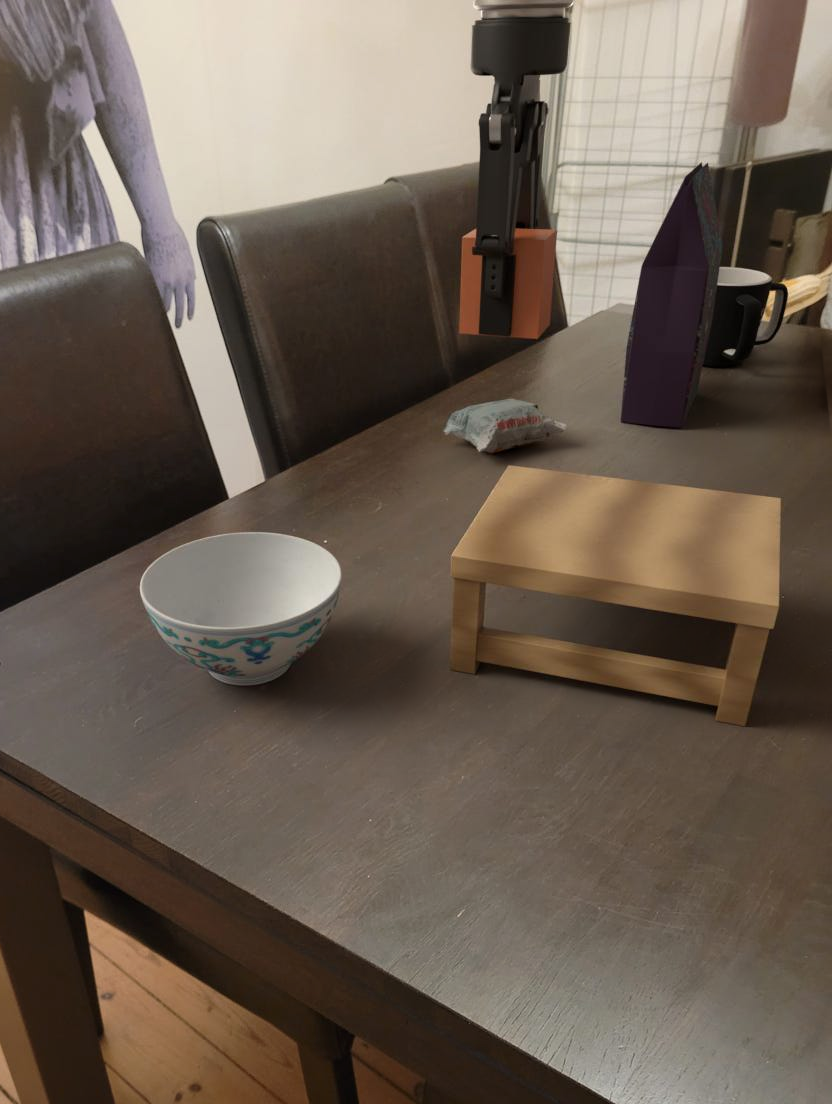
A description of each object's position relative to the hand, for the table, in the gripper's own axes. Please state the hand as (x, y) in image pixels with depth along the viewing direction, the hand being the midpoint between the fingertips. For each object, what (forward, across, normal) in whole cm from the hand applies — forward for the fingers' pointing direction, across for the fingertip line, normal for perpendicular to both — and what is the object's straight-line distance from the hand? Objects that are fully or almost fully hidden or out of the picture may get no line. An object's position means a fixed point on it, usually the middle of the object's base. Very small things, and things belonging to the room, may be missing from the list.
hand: (502, 325), depth 85 cm
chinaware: (+20, +31, -12) cm, 38 cm away
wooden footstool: (+20, +17, +14) cm, 30 cm away
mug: (+20, -66, +16) cm, 71 cm away
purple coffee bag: (+20, -42, +12) cm, 48 cm away
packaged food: (+20, -22, -4) cm, 29 cm away
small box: (0, 0, 0) cm, 0 cm away
